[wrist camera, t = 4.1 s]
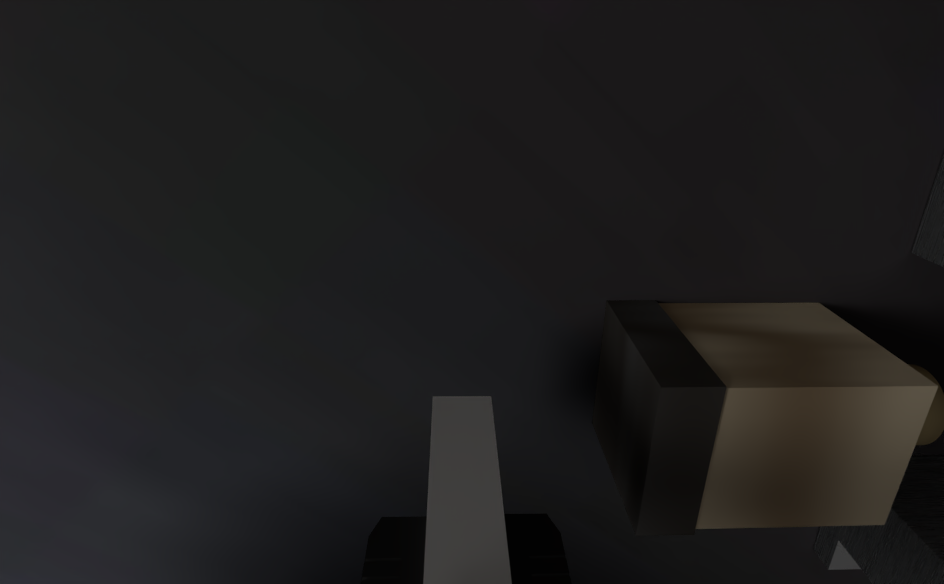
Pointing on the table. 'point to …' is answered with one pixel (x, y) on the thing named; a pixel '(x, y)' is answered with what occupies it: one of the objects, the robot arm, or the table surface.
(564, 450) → the table surface
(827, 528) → the dark grey boxy pieces
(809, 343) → the tan piece
